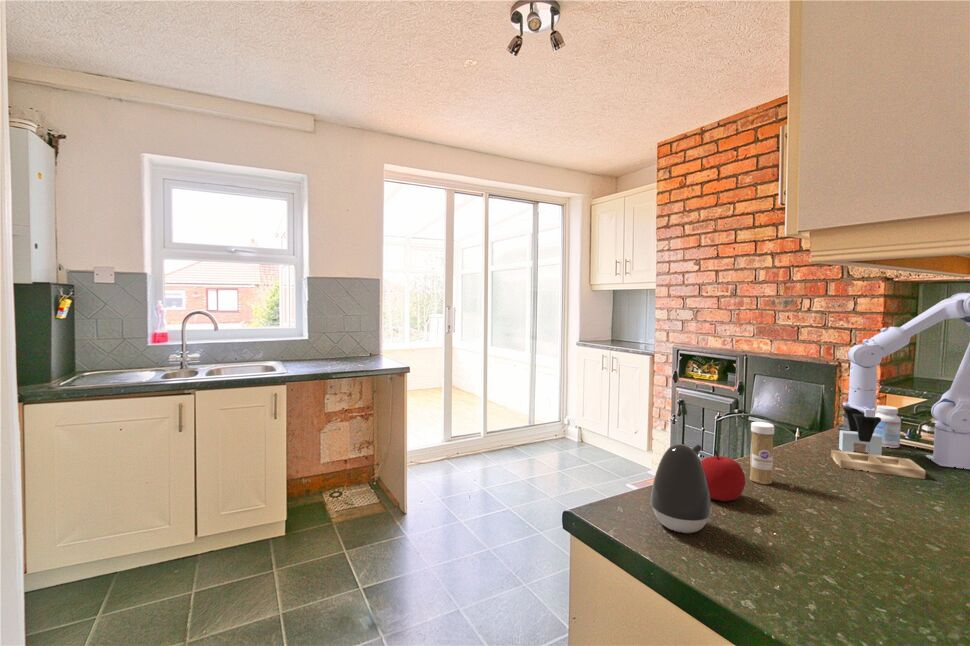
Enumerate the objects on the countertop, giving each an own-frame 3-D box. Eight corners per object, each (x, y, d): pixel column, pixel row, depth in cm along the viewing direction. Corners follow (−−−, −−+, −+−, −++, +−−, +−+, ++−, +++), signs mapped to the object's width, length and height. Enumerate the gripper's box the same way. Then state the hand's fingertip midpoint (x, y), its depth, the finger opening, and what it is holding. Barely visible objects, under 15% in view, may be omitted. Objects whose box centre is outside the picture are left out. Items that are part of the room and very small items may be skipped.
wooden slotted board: (909, 466, 114) (909, 458, 114) (925, 479, 106) (925, 470, 105) (830, 456, 121) (831, 449, 120) (840, 468, 112) (840, 460, 112)
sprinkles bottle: (756, 485, 102) (758, 426, 101) (745, 477, 106) (747, 420, 106) (777, 485, 102) (779, 426, 101) (764, 477, 106) (766, 421, 106)
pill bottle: (867, 441, 135) (869, 404, 134) (892, 443, 133) (894, 405, 132) (878, 447, 129) (879, 408, 128) (904, 449, 127) (906, 410, 126)
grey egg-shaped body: (723, 531, 81) (726, 448, 80) (686, 546, 76) (688, 457, 75) (675, 508, 90) (676, 433, 89) (638, 520, 85) (640, 441, 84)
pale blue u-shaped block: (877, 453, 123) (878, 433, 123) (881, 457, 121) (882, 436, 120) (839, 449, 127) (839, 430, 127) (842, 452, 124) (842, 432, 124)
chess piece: (866, 442, 133) (868, 402, 132) (846, 442, 133) (848, 402, 133) (851, 436, 139) (852, 398, 138) (831, 436, 139) (833, 398, 138)
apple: (721, 510, 89) (723, 460, 89) (685, 492, 98) (687, 446, 97) (754, 502, 93) (756, 454, 92) (717, 486, 101) (718, 442, 101)
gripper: (837, 383, 131) (834, 428, 132) (852, 391, 118) (849, 442, 119) (867, 385, 128) (865, 432, 129) (886, 394, 115) (883, 446, 116)
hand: (859, 437), depth 124 cm, fingers open, 7 cm apart
